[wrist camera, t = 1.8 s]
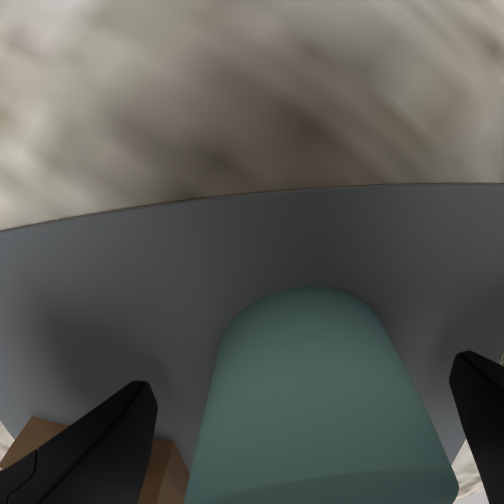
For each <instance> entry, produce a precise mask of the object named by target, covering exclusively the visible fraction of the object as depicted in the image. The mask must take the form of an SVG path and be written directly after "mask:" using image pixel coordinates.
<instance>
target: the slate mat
mask: <svg viewBox="0 0 504 504" xmlns="http://www.w3.org/2000/svg"><path fill="white" fill-rule="evenodd" d="M305 286H317V287H327V288H332V289H336V290H340V291H343V292H346V293H348V294H351V295H352V296H354V297H356V298H358V299H360V300H361V301H362V302H364V303H365V304H367V305H368V306H369V307H370V308H371V309H372V310H373V311H374V312H375V314H376V315H377V317H378V318H379V320H380V321H381V323H382V325H383V327H384V329H385V330H386V332H387V334H388V336H389V338H390V340H391V341H392V343H393V345H394V347H395V349H396V351H397V353H398V355H399V357H400V359H401V360H402V362H403V364H404V366H405V368H406V370H407V372H408V374H409V376H410V378H411V380H412V382H413V384H414V386H415V388H416V390H417V392H418V394H419V396H420V398H421V400H422V402H423V404H424V407H425V409H426V411H427V413H428V415H429V417H430V419H431V421H432V424H433V426H434V428H435V430H436V432H437V434H438V437H439V439H440V441H441V443H442V446H443V448H444V450H445V453H446V455H447V457H448V460H449V462H450V464H452V463H453V461H454V459H455V457H456V456H457V454H458V452H459V450H460V449H461V447H462V445H463V443H464V441H465V439H466V436H465V433H464V431H463V428H462V425H461V421H460V418H459V414H458V411H457V408H456V404H455V401H454V398H453V394H452V391H451V388H450V385H449V375H450V372H451V369H452V365H453V362H454V358H455V356H456V354H457V353H459V352H463V351H467V350H471V351H473V352H475V353H477V354H479V355H481V356H484V357H486V358H488V359H490V360H492V361H494V362H496V363H498V364H499V362H500V359H501V356H502V353H503V350H504V183H411V184H381V185H359V186H341V187H324V188H310V189H296V190H283V191H271V192H260V193H250V194H239V195H230V196H220V197H211V198H202V199H194V200H185V201H177V202H169V203H162V204H154V205H147V206H140V207H133V208H126V209H119V210H113V211H107V212H100V213H94V214H88V215H82V216H76V217H70V218H65V219H59V220H54V221H48V222H43V223H38V224H33V225H27V226H22V227H17V228H13V229H8V230H3V231H0V420H1V421H2V423H3V424H4V426H5V427H6V429H7V430H8V431H9V433H10V434H11V436H12V437H13V438H14V440H16V438H17V437H18V435H19V434H20V432H21V431H22V429H23V428H24V427H25V425H26V424H27V422H28V421H29V419H30V418H31V417H32V416H34V417H37V418H41V419H44V420H48V421H52V422H56V423H60V424H65V425H69V426H70V425H71V424H73V423H74V422H75V421H77V420H78V419H80V418H81V417H83V416H84V415H85V414H87V413H88V412H90V411H91V410H92V409H94V408H95V407H97V406H98V405H99V404H101V403H102V402H104V401H105V400H106V399H108V398H109V397H111V396H112V395H113V394H115V393H116V392H117V391H119V390H120V389H122V388H123V387H124V386H126V385H127V384H128V383H130V382H131V381H133V380H141V381H147V382H149V384H150V386H151V388H152V391H153V393H154V396H155V399H156V401H157V404H158V413H157V419H156V425H155V432H154V438H153V439H154V440H165V441H175V444H176V446H177V448H178V450H179V452H180V455H181V457H182V459H183V461H184V463H185V465H186V467H187V469H188V471H189V474H190V472H191V468H192V463H193V459H194V454H195V450H196V446H197V441H198V437H199V432H200V428H201V424H202V419H203V415H204V411H205V406H206V402H207V398H208V393H209V389H210V385H211V380H212V376H213V372H214V368H215V363H216V359H217V355H218V351H219V346H220V342H221V340H222V337H223V335H224V332H225V331H226V329H227V327H228V326H229V324H230V323H231V322H232V321H233V319H234V318H235V317H236V316H237V315H238V314H239V313H240V312H241V311H242V310H243V309H245V308H246V307H247V306H249V305H250V304H252V303H253V302H255V301H257V300H259V299H260V298H262V297H264V296H267V295H269V294H272V293H274V292H277V291H281V290H285V289H288V288H295V287H305Z"/></svg>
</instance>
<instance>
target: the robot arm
mask: <svg viewBox="0 0 504 504" xmlns="http://www.w3.org/2000/svg"><path fill="white" fill-rule="evenodd" d="M449 385H450V388H451V391H452V394H453V398H454V401H455V404H456V408H457V411H458V414H459V418H460V421H461V425H462V428H463V431H464V433H465V436H466V439H467V441H468V444H469V446H470V449H471V451H472V454H473V457H474V460H475V462H476V465H477V468H478V471H479V474H480V476H481V479H482V482H483V485H484V488H485V491H486V495H487V498H488V501H489V504H504V366H502V365H500V364H498V363H496V362H494V361H492V360H490V359H488V358H486V357H484V356H481V355H479V354H477V353H475V352H473V351H471V350H467V351H463V352H459V353H457V354H456V356H455V358H454V362H453V365H452V369H451V372H450V375H449ZM157 413H158V404H157V401H156V399H155V396H154V393H153V391H152V388H151V386H150V384H149V382H147V381H141V380H133V381H131V382H130V383H128V384H127V385H126V386H124V387H123V388H122V389H120V390H119V391H117V392H116V393H115V394H113V395H112V396H111V397H109V398H108V399H106V400H105V401H104V402H102V403H101V404H99V405H98V406H97V407H95V408H94V409H92V410H91V411H90V412H88V413H87V414H85V415H84V416H83V417H81V418H80V419H78V420H77V421H75V422H74V423H73V424H71V425H70V426H68V427H67V428H65V429H64V430H63V431H61V432H60V433H58V434H57V435H55V436H54V437H52V438H51V439H50V440H48V441H47V442H45V443H44V444H42V445H41V446H39V447H38V449H35V450H33V451H32V452H30V453H29V454H27V455H26V456H24V457H23V458H21V459H20V460H18V461H17V462H15V463H13V464H12V465H10V466H8V467H6V468H5V469H3V470H1V471H0V504H138V501H139V497H140V494H141V490H142V486H143V483H144V479H145V476H146V472H147V468H148V465H149V461H150V456H151V451H152V444H153V438H154V432H155V425H156V419H157Z"/></svg>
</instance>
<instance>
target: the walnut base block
mask: <svg viewBox="0 0 504 504" xmlns="http://www.w3.org/2000/svg"><path fill="white" fill-rule="evenodd" d="M68 426H69V425H65V424H60V423H56V422H52V421H48V420H44V419H41V418H37V417H34V416H32V417H31V418H30V419H29V421H28V422H27V424H26V425H25V427H24V428H23V429H22V431H21V432H20V434H19V435H18V437H17V438H16V440H15V441H14V443H13V444H12V445H11V447H10V448H9V450H8V451H7V453H6V454H5V456H4V458H3V459H2V461H1V462H0V468H1V469H2V470H3V469H5V468H6V467H8V466H10V465H12V464H13V463H15V462H17V461H18V460H20V459H21V458H23V457H24V456H26V455H27V454H29V453H30V452H32V451H33V450H35V449H38V447H39V446H41V445H42V444H44V443H45V442H47V441H48V440H50V439H51V438H52V437H54V436H55V435H57V434H58V433H60V432H61V431H63V430H64V429H65V428H67V427H68ZM189 477H190V474H189V471H188V469H187V467H186V465H185V463H184V461H183V459H182V457H181V455H180V452H179V450H178V448H177V446H176V444H175V441H165V440H154V439H153V444H152V451H151V456H150V461H149V465H148V468H147V472H146V476H145V479H144V483H143V486H142V490H141V494H140V497H139V501H138V504H184V499H185V495H186V490H187V486H188V481H189Z"/></svg>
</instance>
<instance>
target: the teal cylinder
mask: <svg viewBox="0 0 504 504" xmlns="http://www.w3.org/2000/svg"><path fill="white" fill-rule="evenodd" d="M458 490H459V485H458V481H457V479H456V476H455V474H454V471H453V469H452V467H451V464H450V462H449V460H448V457H447V455H446V453H445V450H444V448H443V446H442V443H441V441H440V439H439V437H438V434H437V432H436V430H435V428H434V426H433V424H432V421H431V419H430V417H429V415H428V413H427V411H426V409H425V407H424V404H423V402H422V400H421V398H420V396H419V394H418V392H417V390H416V388H415V386H414V384H413V382H412V380H411V378H410V376H409V374H408V372H407V370H406V368H405V366H404V364H403V362H402V360H401V359H400V357H399V355H398V353H397V351H396V349H395V347H394V345H393V343H392V341H391V340H390V338H389V336H388V334H387V332H386V330H385V329H384V327H383V325H382V323H381V321H380V320H379V318H378V317H377V315H376V314H375V312H374V311H373V310H372V309H371V308H370V307H369V306H368V305H367V304H365V303H364V302H362V301H361V300H360V299H358V298H356V297H354V296H352V295H351V294H348V293H346V292H343V291H340V290H336V289H332V288H327V287H317V286H305V287H295V288H288V289H285V290H281V291H277V292H274V293H272V294H269V295H267V296H264V297H262V298H260V299H259V300H257V301H255V302H253V303H252V304H250V305H249V306H247V307H246V308H245V309H243V310H242V311H241V312H240V313H239V314H238V315H237V316H236V317H235V318H234V319H233V321H232V322H231V323H230V324H229V326H228V327H227V329H226V331H225V332H224V335H223V337H222V340H221V342H220V346H219V351H218V355H217V359H216V363H215V368H214V372H213V376H212V380H211V385H210V389H209V393H208V398H207V402H206V406H205V411H204V415H203V419H202V424H201V428H200V432H199V437H198V441H197V446H196V450H195V454H194V459H193V463H192V468H191V472H190V477H189V481H188V486H187V490H186V495H185V499H184V504H452V503H453V502H454V501H455V499H456V497H457V495H458Z"/></svg>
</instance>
